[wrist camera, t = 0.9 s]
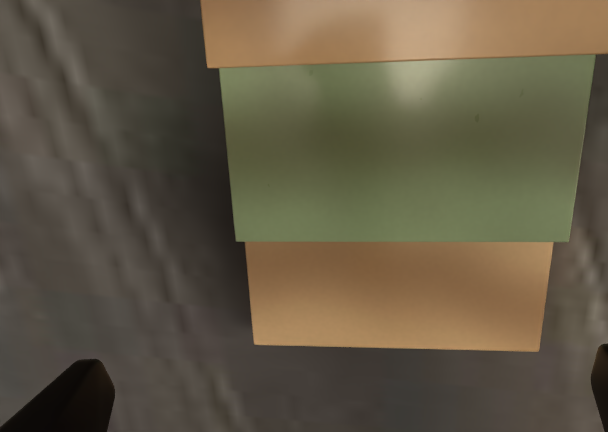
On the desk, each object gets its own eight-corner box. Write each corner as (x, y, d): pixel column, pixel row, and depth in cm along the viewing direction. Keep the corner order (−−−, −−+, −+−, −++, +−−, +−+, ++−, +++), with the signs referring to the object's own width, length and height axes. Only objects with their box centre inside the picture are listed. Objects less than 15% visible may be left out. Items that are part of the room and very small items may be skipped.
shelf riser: (529, 333, 25) (562, 397, 21) (259, 327, 26) (240, 386, 22) (587, -136, 18) (654, -180, 14) (222, -108, 20) (184, -141, 16)
